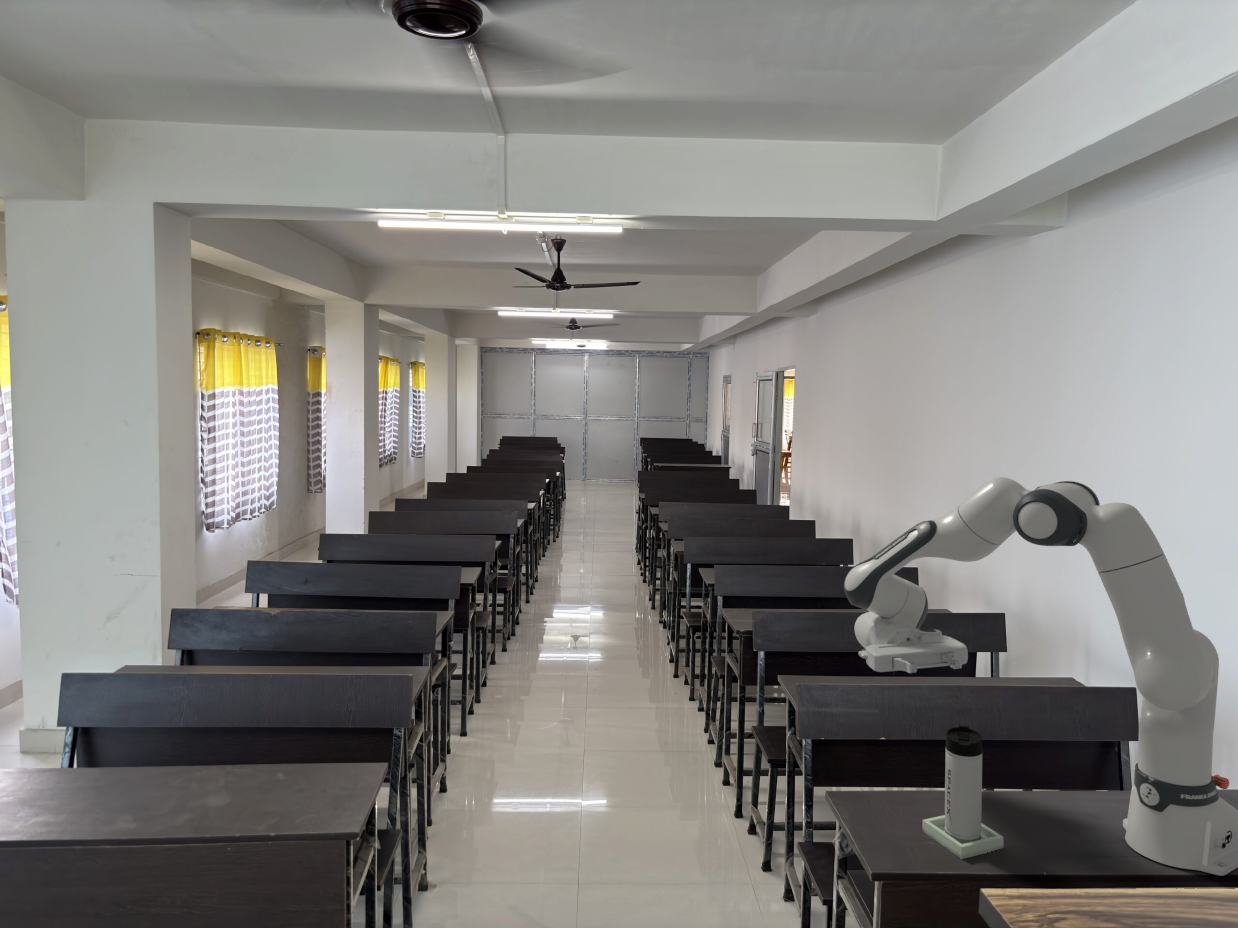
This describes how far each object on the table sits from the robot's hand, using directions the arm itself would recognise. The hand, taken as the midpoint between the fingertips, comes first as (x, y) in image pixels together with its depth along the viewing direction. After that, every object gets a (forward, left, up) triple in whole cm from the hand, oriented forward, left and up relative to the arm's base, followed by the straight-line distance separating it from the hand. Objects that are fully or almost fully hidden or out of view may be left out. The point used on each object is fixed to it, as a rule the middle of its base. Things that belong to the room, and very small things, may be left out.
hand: (935, 666), depth 164 cm
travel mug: (+2, +10, -29) cm, 31 cm away
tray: (+2, +10, -29) cm, 31 cm away
